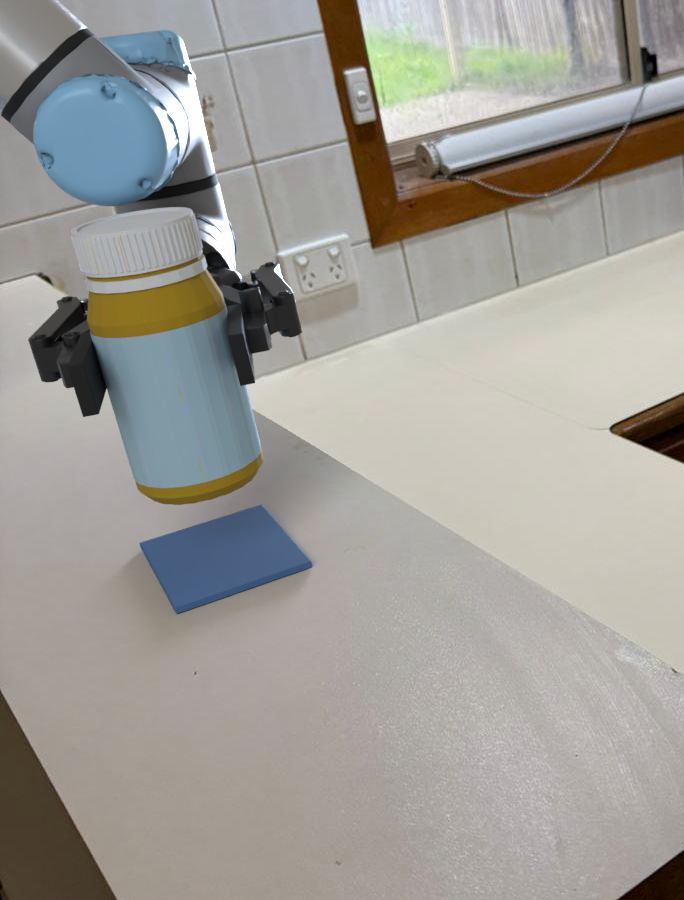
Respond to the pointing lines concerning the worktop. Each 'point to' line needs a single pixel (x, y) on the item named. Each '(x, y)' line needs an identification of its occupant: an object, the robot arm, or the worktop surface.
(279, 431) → the worktop surface
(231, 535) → the blue mat
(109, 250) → the bottle
